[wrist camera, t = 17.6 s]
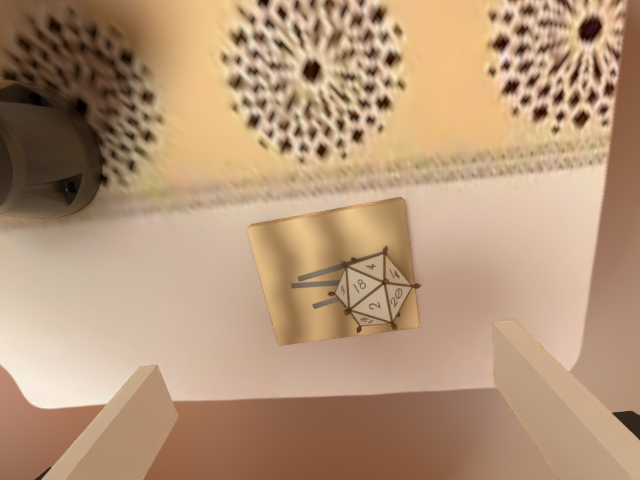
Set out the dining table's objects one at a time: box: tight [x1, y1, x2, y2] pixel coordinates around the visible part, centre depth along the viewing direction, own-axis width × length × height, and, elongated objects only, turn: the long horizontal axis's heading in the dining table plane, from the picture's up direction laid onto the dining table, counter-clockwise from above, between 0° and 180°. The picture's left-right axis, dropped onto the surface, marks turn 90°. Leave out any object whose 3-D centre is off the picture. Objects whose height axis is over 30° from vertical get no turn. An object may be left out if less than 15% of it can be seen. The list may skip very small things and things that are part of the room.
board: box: [247, 197, 419, 345], centre depth 37 cm, size 18×16×2 cm
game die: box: [327, 245, 422, 334], centre depth 32 cm, size 9×8×10 cm
